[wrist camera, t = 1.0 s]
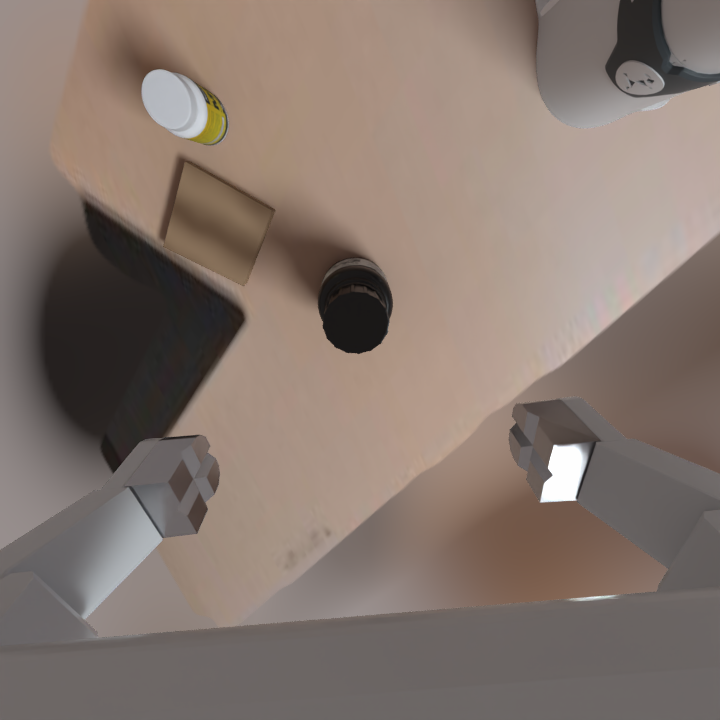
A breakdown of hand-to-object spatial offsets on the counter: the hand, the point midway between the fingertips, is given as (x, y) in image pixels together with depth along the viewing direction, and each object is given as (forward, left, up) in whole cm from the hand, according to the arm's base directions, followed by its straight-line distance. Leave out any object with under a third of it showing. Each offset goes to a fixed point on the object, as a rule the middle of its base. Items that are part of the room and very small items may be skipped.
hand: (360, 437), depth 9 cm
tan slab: (+7, -15, -36) cm, 40 cm away
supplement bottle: (-3, -19, -36) cm, 41 cm away
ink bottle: (+6, +3, -36) cm, 37 cm away
